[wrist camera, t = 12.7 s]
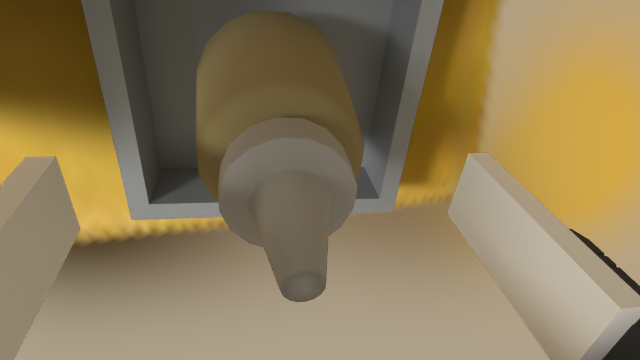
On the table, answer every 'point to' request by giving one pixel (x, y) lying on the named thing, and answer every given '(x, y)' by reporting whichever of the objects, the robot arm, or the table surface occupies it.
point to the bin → (181, 82)
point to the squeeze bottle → (278, 142)
